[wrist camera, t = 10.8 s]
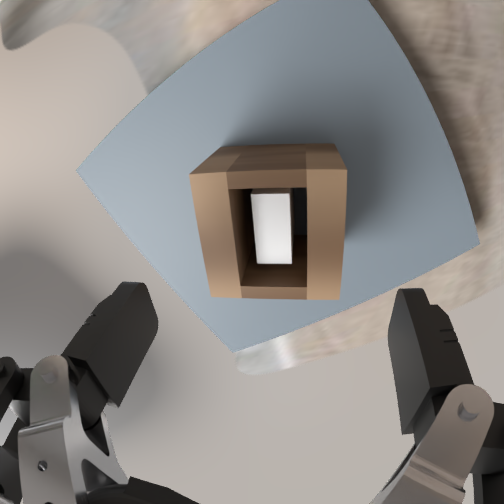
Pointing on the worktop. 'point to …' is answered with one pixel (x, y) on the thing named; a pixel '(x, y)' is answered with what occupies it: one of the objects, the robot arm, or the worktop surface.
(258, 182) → the tan hollow open box
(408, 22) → the worktop surface
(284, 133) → the flat blue-gray panel
